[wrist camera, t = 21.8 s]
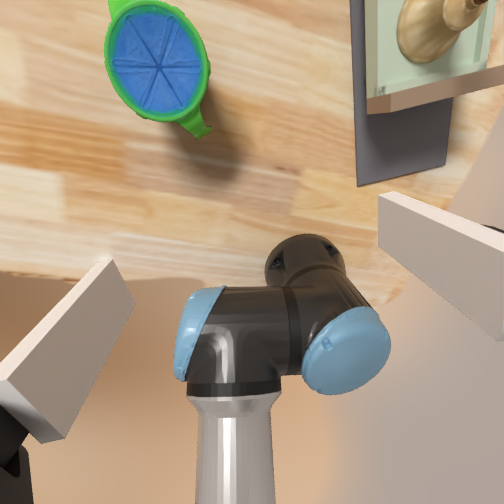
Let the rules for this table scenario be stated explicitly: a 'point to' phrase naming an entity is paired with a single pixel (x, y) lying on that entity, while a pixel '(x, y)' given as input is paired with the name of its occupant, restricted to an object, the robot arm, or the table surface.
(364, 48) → the track
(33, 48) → the table surface
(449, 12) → the hand bell
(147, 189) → the table surface
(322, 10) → the table surface
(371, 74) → the pale green tray
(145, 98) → the snack cup
